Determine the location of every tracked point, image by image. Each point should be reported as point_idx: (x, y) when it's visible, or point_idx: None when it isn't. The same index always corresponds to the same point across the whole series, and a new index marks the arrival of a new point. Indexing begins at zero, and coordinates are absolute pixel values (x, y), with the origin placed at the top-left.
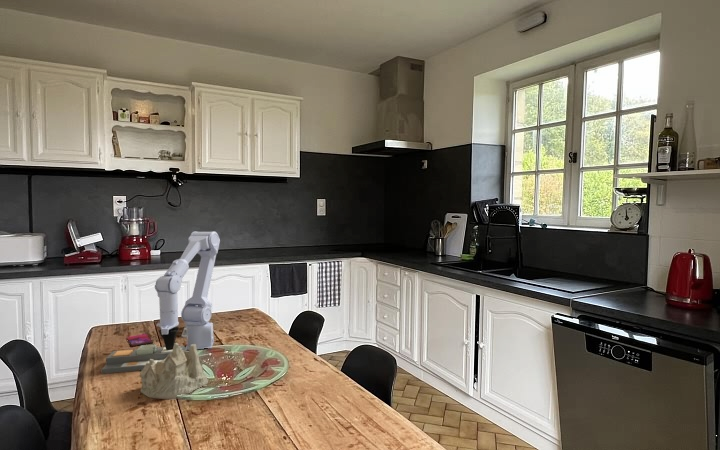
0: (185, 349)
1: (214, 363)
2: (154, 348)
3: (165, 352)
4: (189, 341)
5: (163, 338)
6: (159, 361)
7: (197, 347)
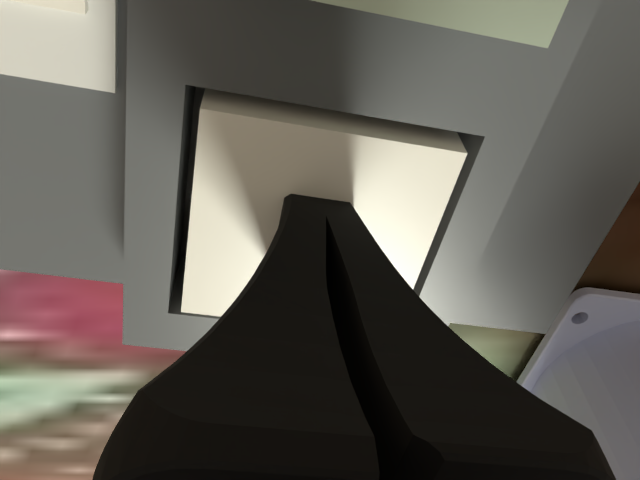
0: (475, 324)
1: (46, 464)
2: (368, 1)
3: (195, 173)
4: (626, 396)
5: (215, 327)
6: (42, 46)
7: (534, 393)
